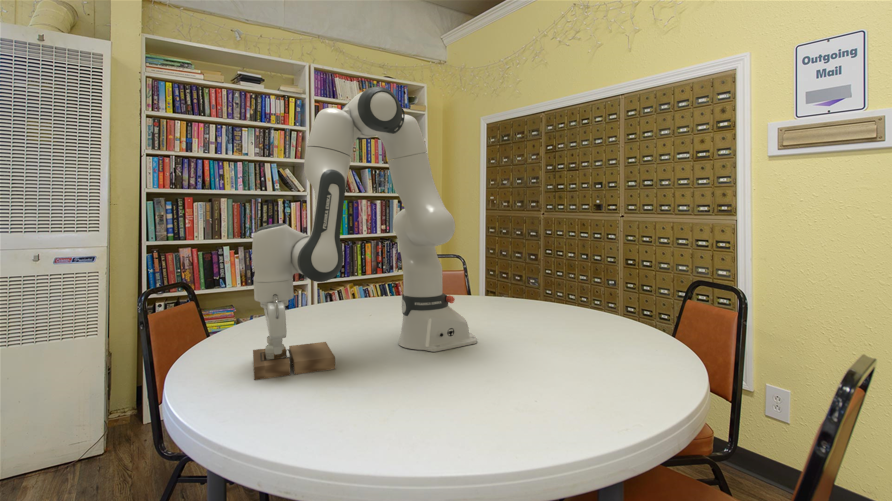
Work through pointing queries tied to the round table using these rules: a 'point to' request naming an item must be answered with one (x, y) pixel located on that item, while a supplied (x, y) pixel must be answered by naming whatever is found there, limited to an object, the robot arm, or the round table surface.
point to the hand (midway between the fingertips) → (276, 347)
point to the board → (294, 361)
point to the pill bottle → (270, 350)
